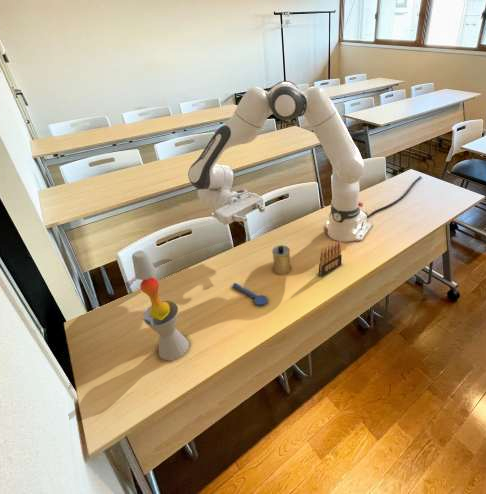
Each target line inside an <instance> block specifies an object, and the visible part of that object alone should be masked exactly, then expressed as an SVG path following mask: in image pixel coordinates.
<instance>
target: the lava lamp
mask: <svg viewBox="0 0 486 494" xmlns="http://www.w3.org/2000/svg"><path fill="white" fill-rule="evenodd" d="M131 259H132V264H133V270H134V276H135V278H136V280H140V281H141V282H140V284H139V285H140V290H141V292H142V293H143V294H145V295H147V296H148V297H149V299H150V302H151V305H150V306H149V307H148V308H147V309H146V310H145V311H144V313H143V314H142V319H143V321H144V323H145V324H146V325H147V326H148V327H149V328H151V329H152V330H153V331H154V332H156V333H157V334H158V335H159V338H158V356H159V358H161V359H162V360H165V361H174V360H177V359H179V358H181V357H182V356H184V354H186V353H187V352H188V349H189V346H190V344H189V343H190V342H189V340H188V339H187V338H186V336H184V335H183V334H182V333H181V332H180V331H179V329H177V328H176V327H177V320H178V313H179V309H178V305H177V304H176V303H175V302H173V301H170V300H164V301H163V300H162V301H161V300H160V297H159V288H160V283H159V281H158V280H157V278H155V277H154V276H156V274H157V269H156V268H155V266H154V263H153V262H152V260H151V259H150V257H149V256H148V253H147V252H146V251H145V250H136V251H135V252H133V253H132V256H131Z"/></svg>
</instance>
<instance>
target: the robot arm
mask: <svg viewBox="0 0 486 494" xmlns="http://www.w3.org/2000/svg"><path fill="white" fill-rule="evenodd" d="M271 115H273V116H275V117H276V118H277V119H279V120H281V121H289V120H293V119H296V118H300V117H304V118H305V120H306V121H307V123H308V125H309V127H310V128H311V130H312V131H313V133H314V135H315V136H316V138H317V140H318V142H319V143H320V145H321V147H322V149H323V152H324V153H325V155H326V157H327V159H328V161H329V163H330V165H331V166H332V198H331V199H332V200H331V201H332V202H331V205H330V212H329V213H328V221H326V225H325V229H326V230H327V235H328V237H329V238H331V240H334V241H337V242H338V241H339V239H340V242H341V243H342V242H343V243H345V242H347V243H348V242H352V241H353V242H354V241H362V240H363V239H364V238H365V236H366V235H367V233H368V232H369V230H370V229H371V227H372V222H371V221H369V220H368V218H371V217H372V216H374V215H375V214H376V213H377V212H380V211H383V210H385V209H388V208H389V207H391V206H393V205H395V204H397V203H398V202H399V201H401V200H402V199H403V198H404V197H406V196H407V194H408V193H409V192H410V191H411V189H412V188H414V186H415V184H416V183H417V182H418V181H419V180H420V179H422V176H421V175H420V176H419V177H418V178H417V179H415V181H414V182H412V184H411V185H410V186H409V188H408V189H407V190H406V191H405V192H404V193H403V194H402V195H401V196H400V197H399V198H398V199H396V200H395V201H393V202H390V203H389V204H387V205H385V206H383V207H380V208H377V209H375V210H374V211H372V212H371V213H370V214H369V215H368V212H365V211H363V210H361V208H363V206H364V202H361V201H359V200H360V189H361V188H360V187H361V186H360V180H361V179H362V178H363V177H364V173H365V162H364V159H363V157H362V155H361V152H360V150H359V148H358V146H357V145H356V144H355V142H354V140H353V137H352V136H351V134H350V132H349V130H348V128H347V126H346V124H345V123H344V121H343V119H342V117H341V115H340V113H339V111H338V109H337V107H336V106H335V104H334V102H333V101H332V99H331V98H330V97H329V95H328V94H327V93H326V91H325V90H324V89H323V88H322V87H320V86H311V87H309V88H307V89H306V90H300V89H299V87H298V86H297V85H296V84H295V83H294V82H292V81H290V80H282V81H278V83H276V84H274V85H273V86H271V87H269V88H268V89H267V90H264V89H263V88H261V87H256V86H253V87H250V88H248V89H247V91H246V92H245V93H244V94H243V96H242V98H241V99H240V100H239V102H238V104H237V105H236V107H235V110H234V112H233V114H232V115H231V117H230V118H229V119H228V120H227V121H226V122H225V123H224V124H223V125H221V126H220V127H219V128H218V129H217V130H216V131H215V132H214V134H213V135H212V137H211V138H210V140H209V141H208V143H207V144H206V146H205V148H204V149H203V151H202V152H201V154H200V155H199V156H198V158H197V159H196V160H195V161H194V162H193V163H192V164H191V166H190V167H189V169H188V173H187V176H188V177H187V178H188V180H189V182H190V184H191V185H192V186H193V188H195V189H196V190H197V196H198V199H199V200H200V202H201V203H203V204H204V205H205V206H207V207H209V208H211V209H213V211H212V212H211V213H210V214H211V217H212V218H214V219H216V220H217V221H218V222H219V223H220V224H223V225H227V226H228V225H230V224H232V223H234V222H242V223H246V222H247V221H248V217H247V215H249V214H250V213H252V212H254V211H257V210H258V212H259V213H264V212H265V211H266V208H265V206H264V199H263V198H264V197H262V196H261V195H259V194H256V193H254V192H248V190H247V189H241V190H236V191H235V190H234V191H232V190H233V187H234V184H235V173H234V170H233V169H232V167H230V166H229V165H227V164H219V163H217V162H218V161H219V159H220V158H221V156H222V155H223V154H224V152H225V151H226V150H228V149H230V148H232V147H236V146H240V145H246V144H249V143H252V142H254V141H255V139H256V138H257V137H258V136H259V134H260V133H261V131H262V129H263V127H264V125H265V123H266V121H267V119H268V118H269V117H270V116H271Z"/></svg>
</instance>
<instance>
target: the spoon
mask: <svg viewBox="0 0 486 494" xmlns="http://www.w3.org/2000/svg"><path fill="white" fill-rule="evenodd" d="M232 286H233V287H234V288H236V289H238V290H239V291H240V292H242V293H244V294H246V295H247V296H249V297H250V298H252V299H253V300H254V301H253V303H254V304H255V305H256V306H258V307H263V306H265V305H267V304H268V297H267V296H266V295H263V294H260V295H257V294H256V293H254V292H252V291H250V290H248V289H247V288H245V287H243V286H242V285H240V284H238V283H237V282H233V285H232Z"/></svg>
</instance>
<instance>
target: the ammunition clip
mask: <svg viewBox="0 0 486 494" xmlns="http://www.w3.org/2000/svg"><path fill="white" fill-rule="evenodd" d="M342 255H343V254H342V241H340V239H339V241H337V240H335V242H332V243H331V245H330V244H328V247H327V246H325V247H324V248H321V250H320V257H319V263H318V275H319V276H320V277H324V276H325V275H327V274H329V273H331V272H332V271H334V270H336V269H337V268H339V267H340V266H342V260H343V259H342V258H343V257H342Z"/></svg>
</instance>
